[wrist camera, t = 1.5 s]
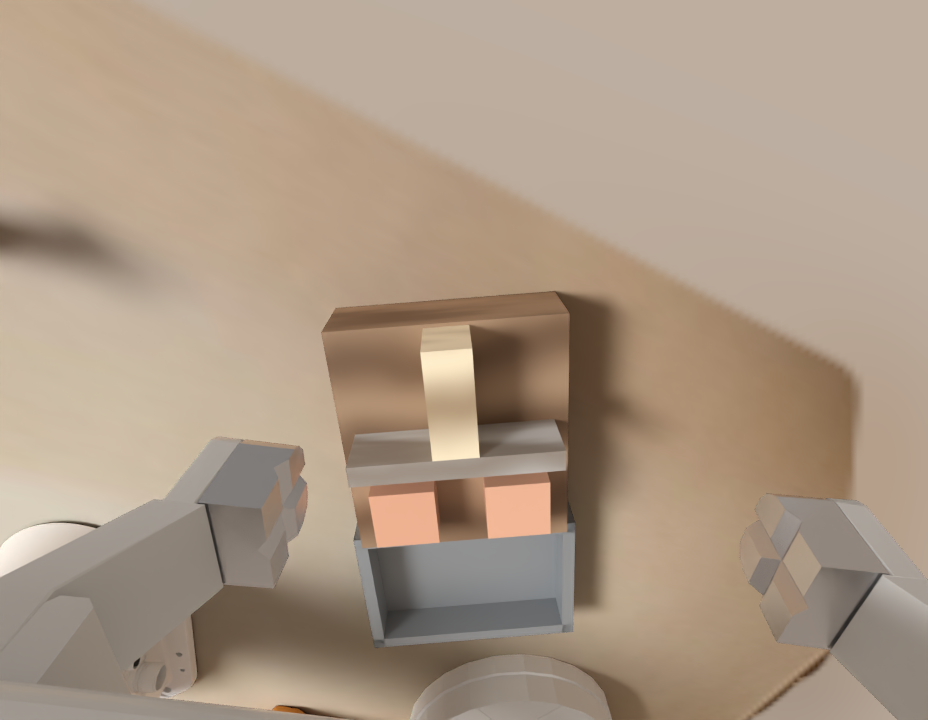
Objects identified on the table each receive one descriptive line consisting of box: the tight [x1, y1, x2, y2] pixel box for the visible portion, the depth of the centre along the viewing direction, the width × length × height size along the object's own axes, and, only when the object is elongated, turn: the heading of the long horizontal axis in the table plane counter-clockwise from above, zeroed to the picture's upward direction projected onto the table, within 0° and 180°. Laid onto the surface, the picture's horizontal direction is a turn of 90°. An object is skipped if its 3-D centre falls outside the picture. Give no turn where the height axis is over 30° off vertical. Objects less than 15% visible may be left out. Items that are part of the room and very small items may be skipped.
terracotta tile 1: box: [483, 472, 551, 539], centre depth 38 cm, size 4×4×2 cm
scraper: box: [346, 325, 566, 488], centre depth 34 cm, size 9×14×4 cm, turn 94°
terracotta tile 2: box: [368, 481, 440, 548], centre depth 38 cm, size 4×4×2 cm
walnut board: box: [321, 291, 570, 548], centre depth 40 cm, size 18×16×5 cm
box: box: [354, 500, 575, 648], centre depth 47 cm, size 12×18×4 cm
